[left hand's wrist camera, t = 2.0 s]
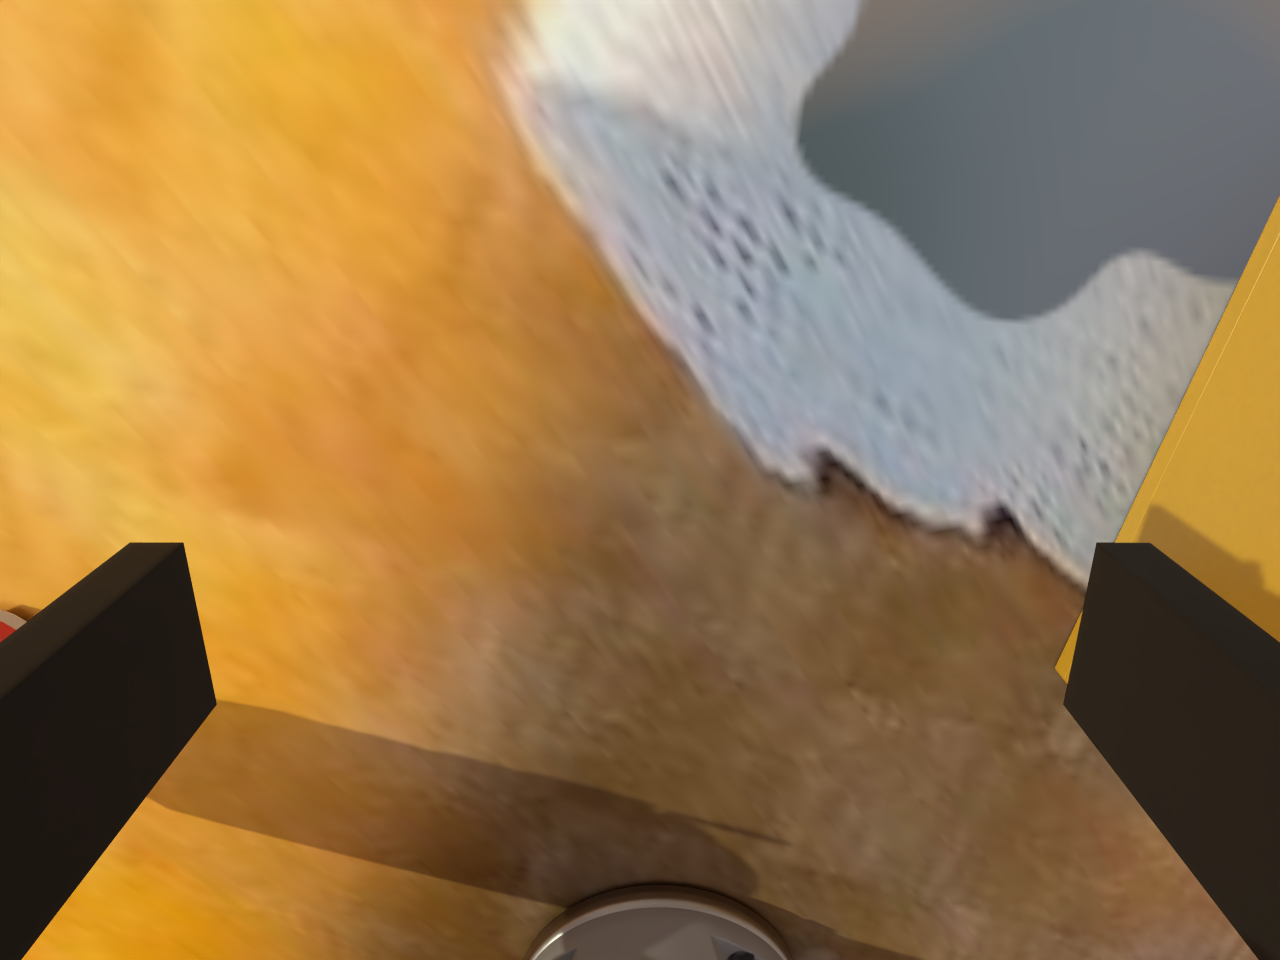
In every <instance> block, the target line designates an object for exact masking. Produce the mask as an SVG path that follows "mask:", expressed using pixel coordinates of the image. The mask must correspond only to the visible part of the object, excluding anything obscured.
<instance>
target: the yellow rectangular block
mask: <svg viewBox="0 0 1280 960" xmlns="http://www.w3.org/2000/svg"><path fill="white" fill-rule="evenodd" d="M1115 543H1151V544H1152V545H1154V546H1155V547H1156V548H1158V549H1159V550H1160V551H1161V552H1163V553H1164V554H1165V555H1167V556H1168V557H1169V558H1171V559H1172V560H1173V561H1174V562H1176V563H1177V564H1178V565H1180V566H1181V567H1182V568H1184V569H1185V570H1186V571H1188V572H1189V573H1190V574H1191V575H1193V576H1194V577H1195V578H1197V579H1198V580H1199V581H1201V582H1202V583H1203V584H1204V585H1206V586H1207V587H1208V588H1210V589H1211V590H1212V591H1214V592H1215V593H1216V594H1217V595H1219V596H1220V597H1221V598H1223V599H1224V600H1225V601H1227V602H1228V603H1229V604H1231V605H1232V606H1233V607H1234V608H1236V609H1237V610H1238V611H1240V612H1241V613H1242V614H1244V615H1245V616H1246V617H1247V618H1249V619H1250V620H1251V621H1253V622H1254V623H1255V624H1257V625H1258V626H1259V627H1260V628H1262V629H1263V630H1264V631H1266V632H1267V633H1268V634H1270V635H1271V636H1272V637H1273V638H1275V639H1276V640H1277V641H1279V642H1280V196H1279V198H1278V200H1277V202H1276V204H1275V207H1274V209H1273V211H1272V213H1271V215H1270V217H1269V219H1268V221H1267V223H1266V225H1265V228H1264V230H1263V232H1262V234H1261V236H1260V238H1259V240H1258V242H1257V244H1256V246H1255V249H1254V251H1253V253H1252V255H1251V257H1250V259H1249V261H1248V263H1247V265H1246V267H1245V270H1244V272H1243V274H1242V276H1241V278H1240V280H1239V282H1238V284H1237V286H1236V288H1235V291H1234V293H1233V295H1232V297H1231V299H1230V301H1229V303H1228V305H1227V307H1226V309H1225V312H1224V314H1223V316H1222V318H1221V320H1220V322H1219V324H1218V326H1217V328H1216V330H1215V333H1214V335H1213V337H1212V339H1211V341H1210V343H1209V345H1208V347H1207V349H1206V351H1205V354H1204V356H1203V358H1202V360H1201V362H1200V364H1199V366H1198V368H1197V370H1196V372H1195V375H1194V377H1193V379H1192V381H1191V383H1190V385H1189V387H1188V389H1187V391H1186V393H1185V396H1184V398H1183V400H1182V402H1181V404H1180V406H1179V408H1178V410H1177V412H1176V414H1175V417H1174V419H1173V421H1172V423H1171V425H1170V427H1169V429H1168V431H1167V433H1166V435H1165V438H1164V440H1163V442H1162V444H1161V446H1160V448H1159V450H1158V452H1157V454H1156V456H1155V459H1154V461H1153V463H1152V465H1151V467H1150V469H1149V471H1148V473H1147V475H1146V477H1145V480H1144V482H1143V484H1142V486H1141V488H1140V490H1139V492H1138V494H1137V496H1136V498H1135V501H1134V503H1133V505H1132V507H1131V509H1130V511H1129V513H1128V515H1127V517H1126V519H1125V522H1124V524H1123V526H1122V528H1121V530H1120V532H1119V534H1118V536H1117V538H1116V540H1115ZM1082 611H1083V610H1082ZM1081 616H1082V612H1081V614H1080V616H1079V618H1078V620H1077V622H1076V624H1075V626H1074V629H1073V631H1072V633H1071V635H1070V637H1069V639H1068V641H1067V643H1066V645H1065V647H1064V650H1063V652H1062V654H1061V656H1060V658H1059V660H1058V662H1057V664H1056V666H1055V669H1056V671H1057V672H1058V673H1059V674H1060V676H1061V677H1062V678H1063V679H1064V680H1065V682H1066V683H1067V684H1068V679H1069V674H1070V670H1071V665H1072V660H1073V655H1074V650H1075V645H1076V640H1077V636H1078V631H1079V626H1080V621H1081Z"/></svg>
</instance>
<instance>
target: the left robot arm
mask: <svg viewBox="0 0 1280 960" xmlns="http://www.w3.org/2000/svg"><path fill="white" fill-rule="evenodd" d="M216 705H217V703H216V699H215V694H214V689H213V684H212V679H211V674H210V670H209V665H208V660H207V655H206V650H205V645H204V640H203V636H202V631H201V626H200V621H199V616H198V611H197V607H196V602H195V597H194V592H193V587H192V582H191V577H190V573H189V568H188V563H187V558H186V553H185V548H184V543H129V544H128V545H126V546H125V547H124V548H122V549H121V550H120V551H119V552H117V553H116V554H115V555H113V556H112V557H111V558H109V559H108V560H107V561H106V562H104V563H103V564H102V565H100V566H99V567H98V568H96V569H95V570H94V571H92V572H91V573H90V574H89V575H87V576H86V577H85V578H83V579H82V580H81V581H79V582H78V583H77V584H76V585H74V586H73V587H72V588H70V589H69V590H68V591H66V592H65V593H64V594H63V595H61V596H60V597H59V598H57V599H56V600H55V601H53V602H52V603H51V604H49V605H48V606H47V607H46V608H44V609H43V610H42V611H40V612H39V613H38V614H36V615H35V616H34V617H33V618H31V619H30V620H29V621H27V622H26V623H25V624H23V625H22V626H21V627H20V628H18V629H17V630H16V631H14V632H13V633H12V634H10V635H9V636H8V637H7V638H5V639H4V640H3V641H1V642H0V960H21V959H22V958H23V957H24V955H25V954H26V953H27V952H28V950H29V949H30V948H31V946H32V945H33V944H34V942H35V941H36V940H37V938H38V937H39V936H40V935H41V933H42V932H43V931H44V929H45V928H46V927H47V925H48V924H49V923H50V921H51V920H52V919H53V918H54V916H55V915H56V914H57V912H58V911H59V910H60V908H61V907H62V906H63V905H64V903H65V902H66V901H67V899H68V898H69V897H70V895H71V894H72V893H73V891H74V890H75V889H76V888H77V886H78V885H79V884H80V882H81V881H82V880H83V878H84V877H85V876H86V874H87V873H88V872H89V871H90V869H91V868H92V867H93V865H94V864H95V863H96V861H97V860H98V859H99V857H100V856H101V855H102V854H103V852H104V851H105V850H106V848H107V847H108V846H109V844H110V843H111V842H112V840H113V839H114V838H115V837H116V835H117V834H118V833H119V831H120V830H121V829H122V827H123V826H124V825H125V823H126V822H127V821H128V820H129V818H130V817H131V816H132V814H133V813H134V812H135V810H136V809H137V808H138V806H139V805H140V804H141V803H142V801H143V800H144V799H145V797H146V796H147V795H148V793H149V792H150V791H151V790H152V788H153V787H154V786H155V784H156V783H157V782H158V780H159V779H160V778H161V776H162V775H163V774H164V773H165V771H166V770H167V769H168V767H169V766H170V765H171V763H172V762H173V761H174V759H175V758H176V757H177V756H178V754H179V753H180V752H181V750H182V749H183V748H184V746H185V745H186V744H187V742H188V741H189V740H190V739H191V737H192V736H193V735H194V733H195V732H196V731H197V729H198V728H199V727H200V725H201V724H202V723H203V722H204V720H205V719H206V718H207V716H208V715H209V714H210V712H211V711H212V710H213V708H214V707H215V706H216ZM1063 705H1064V706H1065V707H1066V708H1067V710H1068V711H1069V712H1070V714H1071V715H1072V716H1073V718H1074V719H1075V720H1076V722H1077V723H1078V724H1079V725H1080V727H1081V728H1082V729H1083V731H1084V732H1085V733H1086V735H1087V736H1088V737H1089V739H1090V740H1091V741H1092V742H1093V744H1094V745H1095V746H1096V748H1097V749H1098V750H1099V752H1100V753H1101V754H1102V756H1103V757H1104V758H1105V759H1106V761H1107V762H1108V763H1109V765H1110V766H1111V767H1112V769H1113V770H1114V771H1115V773H1116V774H1117V775H1118V776H1119V778H1120V779H1121V780H1122V782H1123V783H1124V784H1125V786H1126V787H1127V788H1128V790H1129V791H1130V792H1131V793H1132V795H1133V796H1134V797H1135V799H1136V800H1137V801H1138V803H1139V804H1140V805H1141V806H1142V808H1143V809H1144V810H1145V812H1146V813H1147V814H1148V816H1149V817H1150V818H1151V820H1152V821H1153V822H1154V823H1155V825H1156V826H1157V827H1158V829H1159V830H1160V831H1161V833H1162V834H1163V835H1164V837H1165V838H1166V839H1167V840H1168V842H1169V843H1170V844H1171V846H1172V847H1173V848H1174V850H1175V851H1176V852H1177V854H1178V855H1179V856H1180V857H1181V859H1182V860H1183V861H1184V863H1185V864H1186V865H1187V867H1188V868H1189V869H1190V871H1191V872H1192V873H1193V874H1194V876H1195V877H1196V878H1197V880H1198V881H1199V882H1200V884H1201V885H1202V886H1203V888H1204V889H1205V890H1206V891H1207V893H1208V894H1209V895H1210V897H1211V898H1212V899H1213V901H1214V902H1215V903H1216V905H1217V906H1218V907H1219V908H1220V910H1221V911H1222V912H1223V914H1224V915H1225V916H1226V918H1227V919H1228V920H1229V921H1230V923H1231V924H1232V925H1233V927H1234V928H1235V929H1236V931H1237V932H1238V933H1239V935H1240V936H1241V937H1242V938H1243V940H1244V941H1245V942H1246V944H1247V945H1248V946H1249V948H1250V949H1251V950H1252V952H1253V953H1254V954H1255V955H1256V957H1257V958H1258V959H1259V960H1280V642H1279V641H1277V640H1276V639H1275V638H1273V637H1272V636H1271V635H1270V634H1268V633H1267V632H1266V631H1264V630H1263V629H1262V628H1260V627H1259V626H1258V625H1257V624H1255V623H1254V622H1253V621H1251V620H1250V619H1249V618H1247V617H1246V616H1245V615H1244V614H1242V613H1241V612H1240V611H1238V610H1237V609H1236V608H1234V607H1233V606H1232V605H1231V604H1229V603H1228V602H1227V601H1225V600H1224V599H1223V598H1221V597H1220V596H1219V595H1217V594H1216V593H1215V592H1214V591H1212V590H1211V589H1210V588H1208V587H1207V586H1206V585H1204V584H1203V583H1202V582H1201V581H1199V580H1198V579H1197V578H1195V577H1194V576H1193V575H1191V574H1190V573H1189V572H1188V571H1186V570H1185V569H1184V568H1182V567H1181V566H1180V565H1178V564H1177V563H1176V562H1174V561H1173V560H1172V559H1171V558H1169V557H1168V556H1167V555H1165V554H1164V553H1163V552H1161V551H1160V550H1159V549H1158V548H1156V547H1155V546H1154V545H1152V544H1151V543H1097V544H1096V548H1095V553H1094V558H1093V563H1092V568H1091V573H1090V577H1089V582H1088V587H1087V592H1086V597H1085V602H1084V607H1083V611H1082V616H1081V621H1080V626H1079V631H1078V636H1077V640H1076V645H1075V650H1074V655H1073V660H1072V665H1071V670H1070V674H1069V679H1068V684H1067V689H1066V694H1065V699H1064V703H1063ZM524 960H793V959H792V956H791V954H790V952H789V949H788V948H787V946H786V944H785V943H784V941H783V940H782V938H781V937H780V936H779V934H778V933H777V932H776V931H775V930H774V929H773V928H772V927H771V926H770V925H769V924H768V923H767V922H766V921H765V920H764V919H763V918H761V917H760V916H759V915H757V914H756V913H755V912H753V911H752V910H750V909H749V908H747V907H745V906H743V905H741V904H740V903H738V902H736V901H733V900H731V899H729V898H727V897H724V896H721V895H718V894H715V893H712V892H709V891H705V890H701V889H696V888H691V887H685V886H675V885H642V886H634V887H627V888H622V889H617V890H613V891H609V892H606V893H602V894H599V895H596V896H594V897H591V898H589V899H586V900H584V901H582V902H580V903H578V904H576V905H574V906H572V907H571V908H569V909H567V910H566V911H564V912H563V913H561V914H560V915H559V916H557V917H556V918H555V919H553V920H552V921H551V922H550V923H549V924H548V925H547V926H546V927H545V928H544V929H543V930H542V931H541V932H540V933H539V935H538V936H537V937H536V939H535V940H534V941H533V943H532V944H531V946H530V948H529V950H528V952H527V954H526V956H525V959H524Z"/></svg>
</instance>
